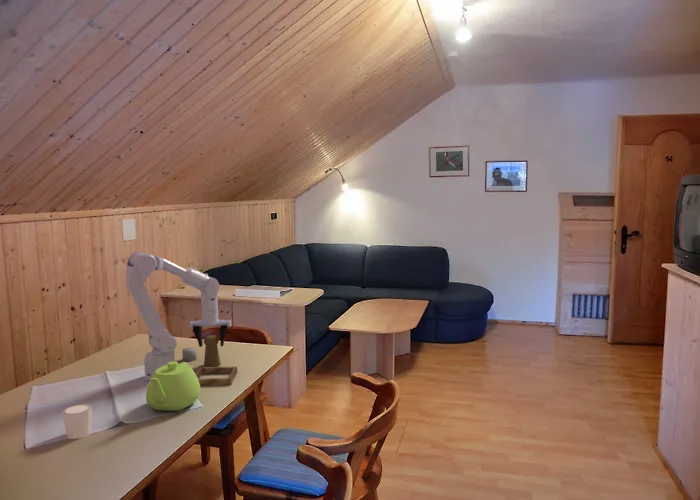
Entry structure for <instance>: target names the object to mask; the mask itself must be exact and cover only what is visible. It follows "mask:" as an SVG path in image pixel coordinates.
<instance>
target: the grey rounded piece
mask: <svg viewBox="0 0 700 500" xmlns="http://www.w3.org/2000/svg"><path fill="white" fill-rule="evenodd" d="M181 350H182V351H181V352H182V362H187V363H189V362H190V363H191V362H195V361H197V358H198V357H197V347H185V348H183V349H181Z"/></svg>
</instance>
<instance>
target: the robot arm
mask: <svg viewBox="0 0 700 500" xmlns="http://www.w3.org/2000/svg"><path fill="white" fill-rule="evenodd" d="M161 270H162V271H165V272H168V273H170V274H172V275H175V276H177V277H180V279H181V282H182V283H183V284H186V285H188V286H190V287H193V288H195V289H197V290H198V291H200V300H201V301H200V304H201V319H200V320H191V321H190V322H189V329H190V328H191V329H192V332H193V334H194V336H195V338H196V340H197V342H198V347H200V348H202V347H203V346H204V345H203V343H204V340H203V328H207V327H208V328H210V327H214V328H215V327H216V328H217V327H219V328H218V329H219V336H220V338H219V339H220V342H219V343H220V347H223V346H224V344H225V338H226V334H227V331H228V329H229V328H230V327H231V326H232V320H231V319H219V307H218V306H219V304H218V303H219V302H218V301H219V300H218V292H219V290H220V287H221V284H219V281H218V279H217V278H214V277H211V276H209V274H208V273H205V272H204V273H203V272H201V271H199V270H198V268H196V267H194V266H192V267H187V268H183V267H181V266H179V265H177V264H175V263H173V262H172V261H169V260H167V259H165V258H163V257H160V256H156V255H153V254H151V253H144V252H142V251H136V252H133V253H131V255H130V256H129V258H128V259H127V261H126V274H125V276H126V277H125V286H126V288H127V290H128V292H129V294H130V296H131V299H132V300H133V302H134V304H135V307H136V308H137V310H138V313H139V314H140V317H141V318H142V320H143V323H144V324H145V326H146V328H147V331H146V333H147V335H148V344H149V346H150V347H152V350H151V351H149V352H146V353H145V355H144V363H143V364H144V382H150V379H151V378H152V376H153V374H154V372H155V371H156V370H157V369H158V368H160V367H162V366H164V365H167V363H168V362H172V361H175V362H176V360H175V349H176V347H177V339H176V338H175V336H173V335H172V334H171V333H170V331H169V330H168V329H167V327H166V326H165V325H164V323H163V321H162V319H161V317H160V315H159V313H158V311H157V309H156V307H155V304H154V302H153V300H152V298H151V296H150V294H149V292H148V290H147V288H146V285H145V283H146V281H147V279H148V278H149V277H150V276H151V275H152V274H153V272H155V271H161Z"/></svg>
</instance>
